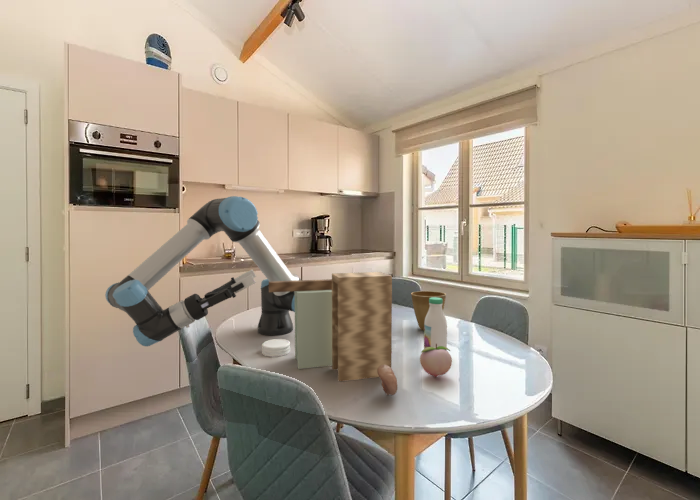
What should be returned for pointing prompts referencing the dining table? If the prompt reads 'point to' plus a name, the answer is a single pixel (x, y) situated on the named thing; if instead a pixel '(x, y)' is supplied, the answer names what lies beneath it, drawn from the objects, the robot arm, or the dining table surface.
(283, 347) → the coaster
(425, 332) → the milk bottle
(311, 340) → the sage green rectangular block
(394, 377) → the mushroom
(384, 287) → the brown wooden tall box
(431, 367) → the decorative fruit
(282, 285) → the wooden square beam
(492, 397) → the dining table surface
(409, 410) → the dining table surface
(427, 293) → the plant pot
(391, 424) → the dining table surface
